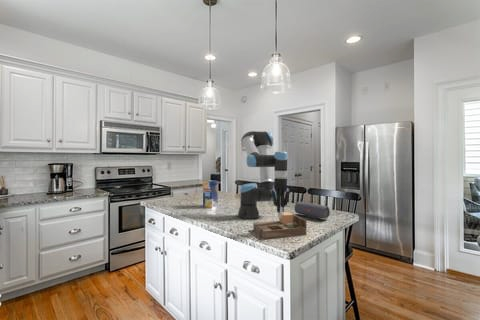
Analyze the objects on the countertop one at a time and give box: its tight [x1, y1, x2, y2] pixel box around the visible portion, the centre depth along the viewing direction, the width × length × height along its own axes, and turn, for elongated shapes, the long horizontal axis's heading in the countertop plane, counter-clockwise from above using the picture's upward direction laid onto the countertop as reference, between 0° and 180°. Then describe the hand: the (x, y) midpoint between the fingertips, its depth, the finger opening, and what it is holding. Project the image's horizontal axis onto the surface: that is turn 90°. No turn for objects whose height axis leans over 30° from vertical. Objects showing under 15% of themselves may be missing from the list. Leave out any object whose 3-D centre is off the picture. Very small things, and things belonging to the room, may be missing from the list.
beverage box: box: [202, 179, 219, 209], centre depth 201 cm, size 7×11×22 cm, turn 50°
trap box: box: [252, 212, 307, 240], centre depth 135 cm, size 16×25×8 cm, turn 108°
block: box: [278, 211, 294, 224], centre depth 141 cm, size 6×6×5 cm
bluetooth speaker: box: [294, 201, 330, 220], centre depth 167 cm, size 23×9×10 cm, turn 45°
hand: (280, 217), depth 140 cm, fingers closed
